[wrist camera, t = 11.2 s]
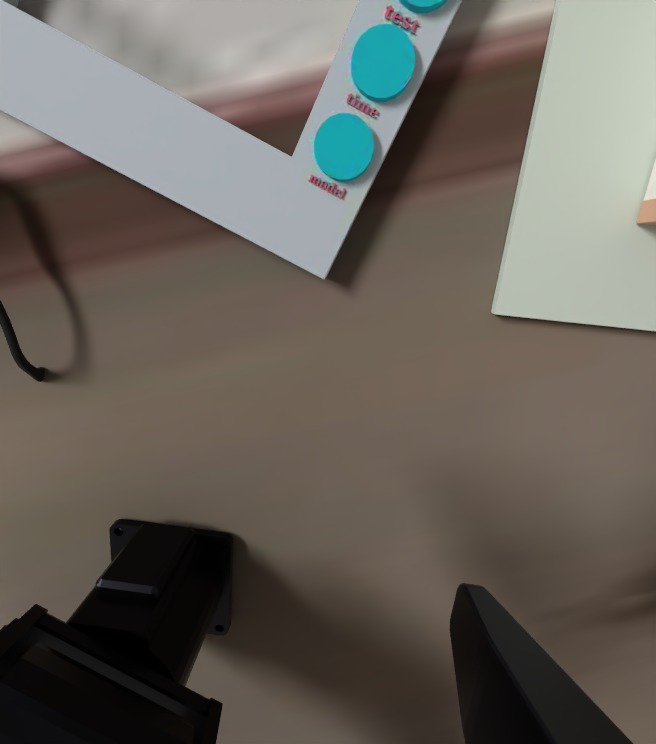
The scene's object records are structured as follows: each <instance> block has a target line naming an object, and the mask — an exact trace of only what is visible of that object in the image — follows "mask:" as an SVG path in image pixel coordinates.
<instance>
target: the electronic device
mask: <svg viewBox="0 0 656 744" xmlns="http://www.w3.org/2000/svg"><path fill="white" fill-rule="evenodd" d="M462 1H463V0H359V2H358V4H357V6H356V9H355V11H354V13H353V16H352V18H351V20H350V23H349V25H348V27H347V30H346V32H345V34H344V37H343V39H342V41H341V44H340V46H339V48H338V51H337V53H336V55H335V58H334V60H333V62H332V65H331V67H330V69H329V72H328V74H327V76H326V79H325V81H324V83H323V86H322V88H321V90H320V93H319V95H318V97H317V100H316V102H315V104H314V107H313V109H312V111H311V114H310V116H309V118H308V121H307V123H306V125H305V128H304V130H303V132H302V135H301V137H300V139H299V142H298V144H297V146H296V149H295V151H294V153H293V156H292V157H291V156H289V155H287V154H285V153H283V152H281V151H280V150H278V149H276V148H274V147H272V146H270V145H268V144H267V143H265V142H263V141H261V140H259V139H257V138H256V137H254V136H252V135H250V134H248V133H246V132H245V131H243V130H241V129H239V128H237V127H235V126H233V125H232V124H230V123H228V122H226V121H224V120H222V119H221V118H219V117H217V116H215V115H213V114H211V113H209V112H208V111H206V110H204V109H202V108H200V107H198V106H197V105H195V104H193V103H191V102H189V101H187V100H185V99H184V98H182V97H180V96H178V95H176V94H174V93H173V92H171V91H169V90H167V89H165V88H163V87H161V86H160V85H158V84H156V83H154V82H152V81H150V80H149V79H147V78H145V77H143V76H141V75H139V74H137V73H136V72H134V71H132V70H130V69H128V68H126V67H125V66H123V65H121V64H119V63H117V62H115V61H113V60H112V59H110V58H108V57H106V56H104V55H102V54H101V53H99V52H97V51H95V50H93V49H91V48H89V47H88V46H86V45H84V44H82V43H80V42H78V41H77V40H75V39H73V38H71V37H69V36H67V35H65V34H64V33H62V32H60V31H58V30H56V29H54V28H53V27H51V26H49V25H47V24H45V23H43V22H42V21H40V20H38V19H36V18H34V17H32V16H30V15H29V14H27V13H25V12H23V11H21V10H19V9H18V8H17V7H18V3H19V0H0V110H1V111H3V112H5V113H7V114H9V115H11V116H13V117H15V118H17V119H19V120H21V121H22V122H24V123H26V124H28V125H30V126H32V127H34V128H36V129H38V130H40V131H42V132H43V133H45V134H47V135H49V136H51V137H53V138H55V139H57V140H59V141H61V142H63V143H64V144H66V145H68V146H70V147H72V148H74V149H76V150H78V151H80V152H82V153H84V154H85V155H87V156H89V157H91V158H93V159H95V160H97V161H99V162H101V163H103V164H105V165H106V166H108V167H110V168H112V169H114V170H116V171H118V172H120V173H122V174H124V175H126V176H127V177H129V178H131V179H133V180H135V181H137V182H139V183H141V184H143V185H145V186H147V187H148V188H150V189H152V190H154V191H156V192H158V193H160V194H162V195H164V196H166V197H168V198H169V199H171V200H173V201H175V202H177V203H179V204H181V205H183V206H185V207H187V208H189V209H190V210H192V211H194V212H196V213H198V214H200V215H202V216H204V217H206V218H208V219H210V220H211V221H213V222H215V223H217V224H219V225H221V226H223V227H225V228H227V229H229V230H231V231H232V232H234V233H236V234H238V235H240V236H242V237H244V238H246V239H248V240H250V241H252V242H253V243H255V244H257V245H259V246H261V247H263V248H265V249H267V250H269V251H271V252H273V253H275V254H276V255H278V256H280V257H282V258H284V259H286V260H288V261H290V262H292V263H294V264H296V265H297V266H299V267H301V268H303V269H305V270H307V271H309V272H311V273H313V274H315V275H317V276H318V277H320V278H322V279H325V278H326V277H327V275H328V273H329V271H330V269H331V267H332V265H333V263H334V261H335V259H336V257H337V255H338V253H339V251H340V249H341V247H342V245H343V243H344V240H345V238H346V236H347V234H348V232H349V230H350V228H351V226H352V224H353V222H354V220H355V218H356V216H357V214H358V212H359V210H360V208H361V206H362V204H363V202H364V200H365V198H366V196H367V194H368V192H369V190H370V188H371V186H372V184H373V182H374V180H375V178H376V176H377V174H378V171H379V169H380V167H381V165H382V163H383V161H384V159H385V157H386V155H387V153H388V151H389V149H390V147H391V145H392V143H393V141H394V139H395V137H396V135H397V133H398V131H399V129H400V127H401V125H402V123H403V121H404V119H405V117H406V115H407V113H408V111H409V109H410V107H411V105H412V102H413V100H414V98H415V96H416V94H417V92H418V90H419V88H420V86H421V84H422V82H423V80H424V78H425V76H426V74H427V72H428V70H429V68H430V66H431V64H432V62H433V60H434V58H435V56H436V54H437V52H438V50H439V48H440V46H441V44H442V42H443V40H444V38H445V36H446V33H447V31H448V29H449V27H450V25H451V23H452V21H453V19H454V17H455V15H456V13H457V11H458V9H459V7H460V5H461V3H462Z"/></svg>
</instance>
